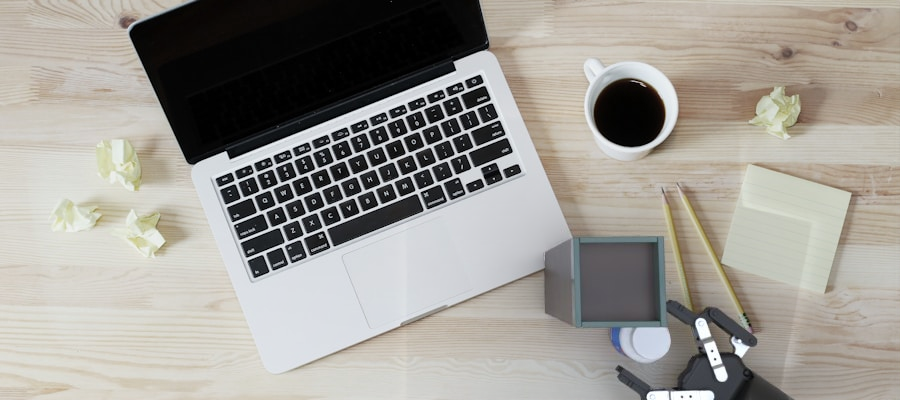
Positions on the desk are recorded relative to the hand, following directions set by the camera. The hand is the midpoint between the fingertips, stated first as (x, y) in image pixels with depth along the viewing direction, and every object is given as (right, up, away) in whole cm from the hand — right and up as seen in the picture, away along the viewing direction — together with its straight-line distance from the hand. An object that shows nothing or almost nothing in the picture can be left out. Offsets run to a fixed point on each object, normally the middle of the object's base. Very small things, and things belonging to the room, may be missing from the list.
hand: (639, 335), depth 81 cm
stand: (-6, +5, +7) cm, 10 cm away
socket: (-7, +8, -20) cm, 23 cm away
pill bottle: (+1, -1, +6) cm, 6 cm away
